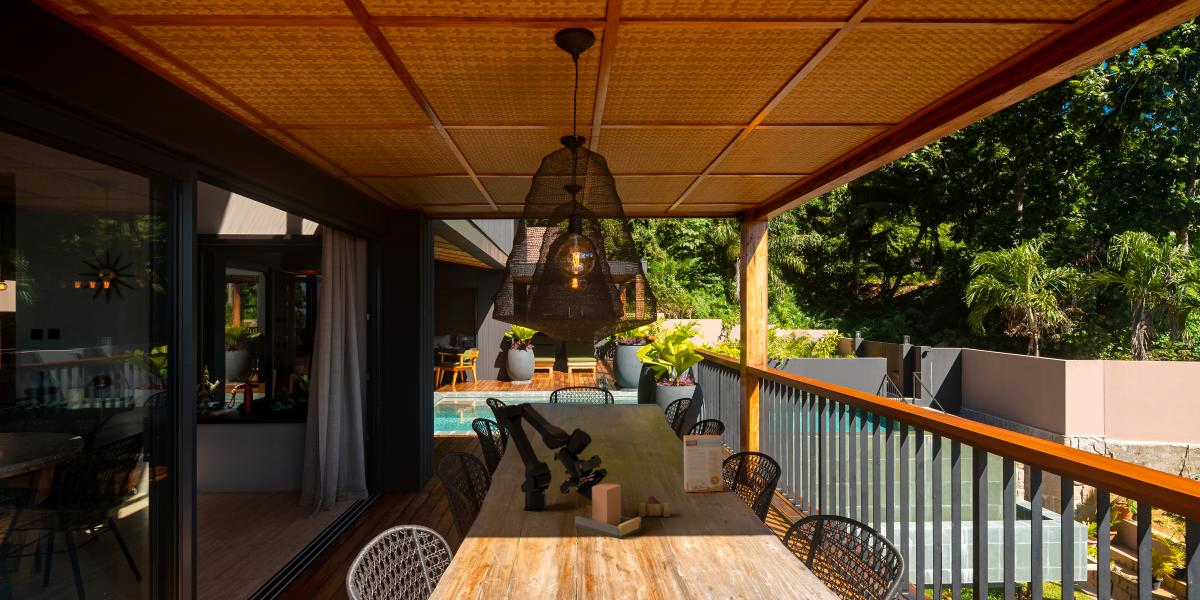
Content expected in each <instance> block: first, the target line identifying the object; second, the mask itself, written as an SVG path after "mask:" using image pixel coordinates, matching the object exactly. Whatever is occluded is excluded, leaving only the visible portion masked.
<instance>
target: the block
mask: <svg viewBox="0 0 1200 600" xmlns="http://www.w3.org/2000/svg"><path fill="white" fill-rule="evenodd" d="M621 487H622V486H621V485H620V484H615V483H612V482H606V481H605V482H603V483H602V482H601V483H599V484H596V486H593V487H592V501H591V512H592V513H591V517H592V520H595V521H598V522H602V523H606V524H610V525H613V526H616V525H618V524H620V523H621V516H622V513H621V512H622V509H621V508H622V507H621V506H622V501H621V500H622V498H621V497H622V492H621V491H622V490H621V489H622V488H621Z"/></svg>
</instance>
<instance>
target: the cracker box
mask: <svg viewBox="0 0 1200 600" xmlns="http://www.w3.org/2000/svg"><path fill="white" fill-rule="evenodd" d="M683 484H684V486H683V487H684V488H683V490H684V491H685V493H687V492H696V493H714V492H713V491H724V490H723V487H724V486H723V437H722V436H721V435H720V434H691V435H690V434H688V435H687V434H685V435H683ZM711 491H712V492H711Z"/></svg>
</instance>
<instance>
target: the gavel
mask: <svg viewBox="0 0 1200 600" xmlns="http://www.w3.org/2000/svg"><path fill="white" fill-rule="evenodd" d="M638 512H639V513H638V515H639V516H638V517H641V518H645V517H646V516H647V517H663V516H664V517H663V518H670V514H671V510H670V503H669V502H663V503H662V504H661V503H657V500H656V497H655V496H653V495H650V496H649V497H648V503H645V502H639V504H638Z"/></svg>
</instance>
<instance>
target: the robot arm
mask: <svg viewBox="0 0 1200 600" xmlns="http://www.w3.org/2000/svg"><path fill="white" fill-rule="evenodd" d="M495 417H496V419H497V421H498V423H499V424H500V425H501V427H502V428H504V429H506V430H507V431H508V433H509V435H510V436H511V438H512V442H513V443H514V445H515V447H516V450H517V452H518V453H519V456H520V459H521V461H522V462H523V464H524V468H525V469H524V478H525V480H524V482H522V484H521V485H520V489H521V492H522V493H524V502H525V503H524V507H523V511H529V510H531V511H532V512H542V511H543V510H544V509H545V508H547V506H548V505H547V494H546V490H548V489H549V488H550V484H551V482H552V477H553V475H552V473H551V472H552V470H551V469H550V468H549V465H548V463H547V462H546V461H540V460H539V459H538V457H537V455H536V452H535V451H534V448H533V446H532V444H531V442H530V440H529V438H528V436H527V434H526V431H525V430H524V427H523V425H522V418H523V420H525V421H526V422H527V423H528V424H529V425H530V426H531V427H532V428H533V429H534V430H535V431H536V432H537V433H538V434H539V435H541V439H542V442H543V443H544V445H545V446H546V447H547V449H548V450H551V451H552V450H553V451H554V450H557V449H560V450H558V451H556V452H555V451H554V456H553V461H554V462H556V461H560V462H561V464H562V465H563V467H564V469H565V472H564V473H565V475H566V476H567V475H569V477H567V478H565V480H564V481H563V482H562V483H561V485H560V486H559V491H560V493H561V494H562V496H566V495H569V493H570V489H572V488H576V490H575V492H574V493H575V494H578V495H580V496H582V497H584V498H586V499H588V500H589V501H590V502H592V487H593V486H596V485H599V484H601V483H602V481H603V480H604V479H605V478H606V477H607V476H608V475H609V472H608V471H607V469H606V468H605V467H601V464H602V458H601V457H600V456H599V455H598V454H595V455H592V456H590V459H587V460H585V459H583V458H582V459H581V458H580V457H579V455H582V454H583V452H584V451H585V450H586V449H587V448H588V447H589V446H590V445H591V443H592V437H591V436H590V434H588V433H587V432H586V431H584V430H582V429H581V428H580V427H578V428H575V429H574V430H573V432H572V433H571V434H569V433H568V432H567V431H566V430H564V429H562V428H561V427H559V426H556V425H553V424H551V422H549V421H548V420H547V419H546V418H545V417H544V416H542V414H541V413H540V412H538V411H537V410H536V409H535V408H534V407H533V406H532V404H531V403H530V402H522V403H518V404H507V405H502V406H501V405H500V406H498V407H497V409H496V412H495ZM531 511H530V512H531Z"/></svg>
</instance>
